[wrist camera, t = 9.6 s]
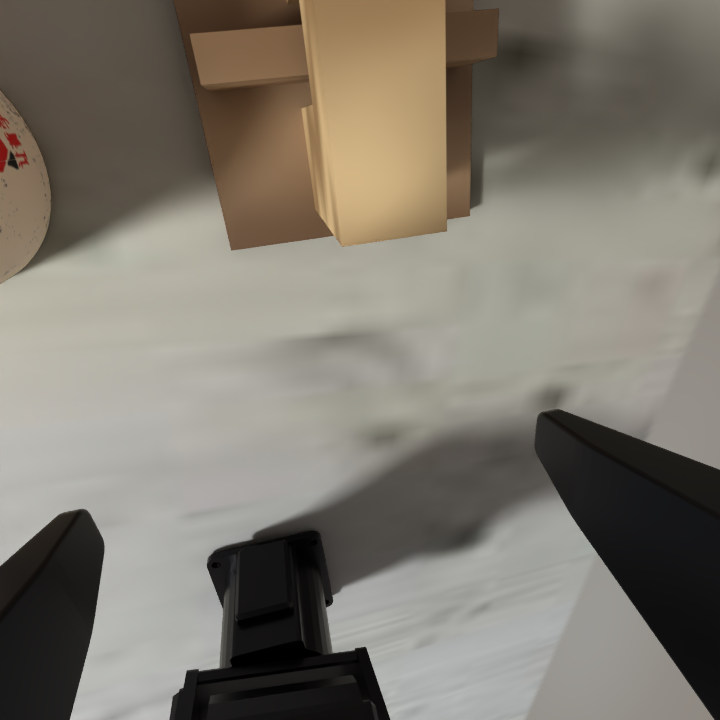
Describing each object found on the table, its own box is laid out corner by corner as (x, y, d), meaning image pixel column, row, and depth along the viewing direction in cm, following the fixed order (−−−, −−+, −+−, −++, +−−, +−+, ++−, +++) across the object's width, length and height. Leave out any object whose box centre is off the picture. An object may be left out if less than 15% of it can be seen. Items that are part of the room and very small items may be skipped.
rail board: (462, 212, 20) (503, 229, 17) (232, 245, 19) (227, 271, 15) (465, -178, 14) (528, -268, 11) (137, -170, 13) (97, -270, 10)
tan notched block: (389, 199, 18) (446, 231, 13) (315, 209, 18) (342, 246, 12) (366, -149, 14) (443, -336, 8) (266, -145, 13) (274, -340, 8)
